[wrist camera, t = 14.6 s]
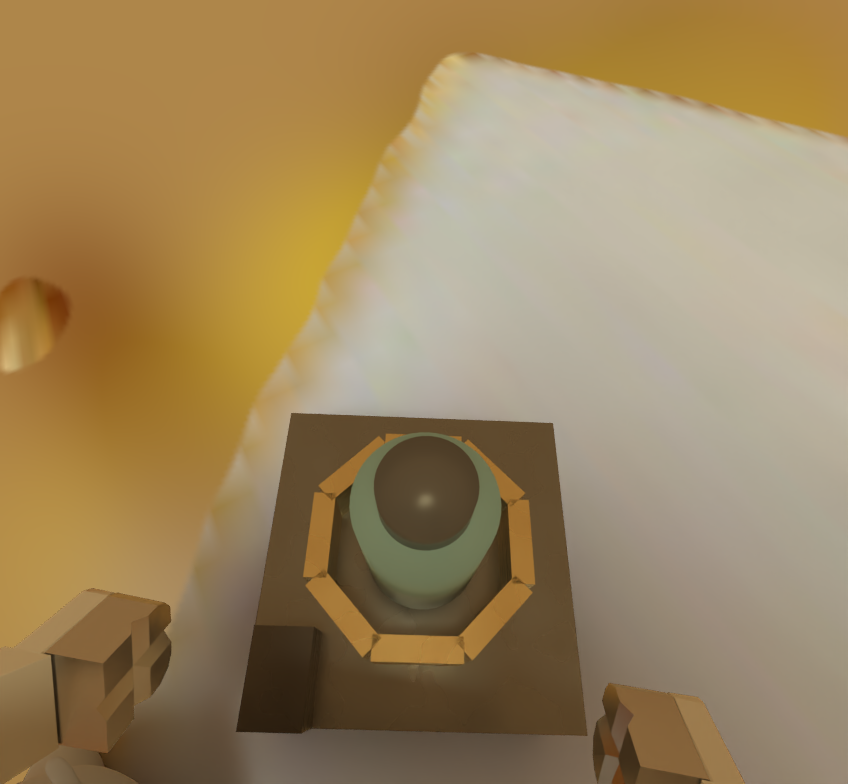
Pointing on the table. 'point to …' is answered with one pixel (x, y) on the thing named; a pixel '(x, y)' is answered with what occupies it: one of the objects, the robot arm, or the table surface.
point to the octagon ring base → (405, 627)
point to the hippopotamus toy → (73, 769)
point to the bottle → (424, 517)
